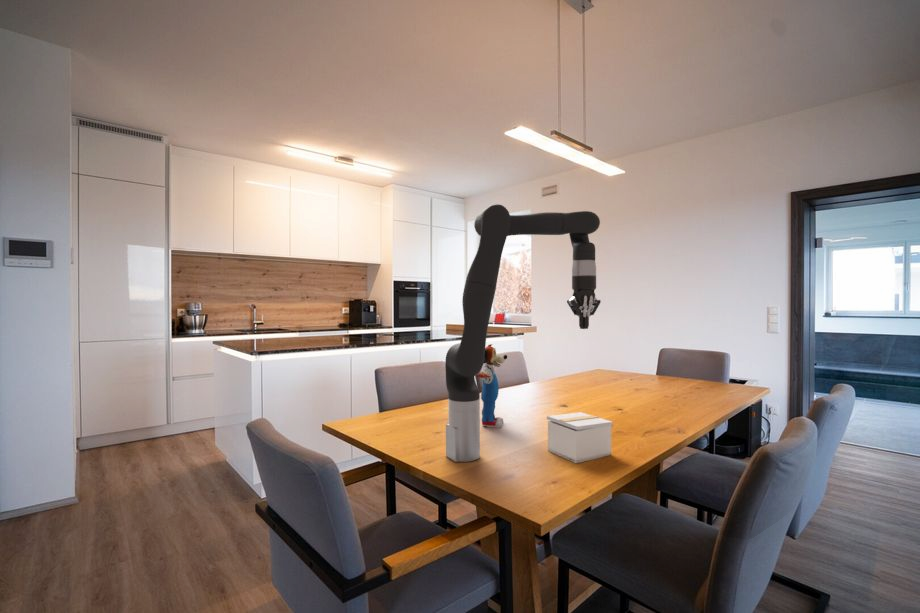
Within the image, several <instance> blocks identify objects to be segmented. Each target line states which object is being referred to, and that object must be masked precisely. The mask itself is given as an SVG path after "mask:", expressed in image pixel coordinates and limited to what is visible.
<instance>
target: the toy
mask: <svg viewBox="0 0 920 613" xmlns="http://www.w3.org/2000/svg"><path fill="white" fill-rule="evenodd" d="M507 359H508V355H507V354H504V355H501V354H500V355H497V351H496V347H493V344H488V345H487V346H485V356H484V363H483V366H482V369H481V370H480V372H479V373H478V374H477V375H476V378H477V377H478V378H482V390H481V392H480V394H481V395H480V400H481V402H482V403H483V404H482V409H481V416H482V417H481V425H482V427H484V426H487V427H486V428H495V427H500V428H502V427H503V425H504V424H503V423H504V418H502V417H500V416H498V417H496V415H495V409H496V401H497V399H498V396H499V392H500V391H499V390H500V388H499V382H498V381H499V380H498V377H497V375H496V372H495V369H494V368H495V367H497V368H499V367H501V364H504V363H505V360H507Z"/></svg>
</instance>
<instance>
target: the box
mask: <svg viewBox="0 0 920 613" xmlns="http://www.w3.org/2000/svg"><path fill="white" fill-rule="evenodd" d="M547 451H548V452H550V453H553V454H554V455H557V456H559V457H561V458H563V459H566V460H568V461H569V462H572V463H574V464H579V463H583V462H586V461H587V462H588V461H592V460H596V459H600V458H605V457H607V456H608V457H609V456H611V455H612V425H610V426H603V427H596V428H589V429H582V430H575V429H573V428H570V427H567V426H564V425H561V424H559V423H556V422H553V421H550V420H547Z"/></svg>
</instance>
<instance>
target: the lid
mask: <svg viewBox="0 0 920 613" xmlns="http://www.w3.org/2000/svg"><path fill="white" fill-rule="evenodd" d="M546 420H547V421H553V422H556V423H559V424H561V425H564V426H567V427H570V428H573V429H575V430H582V429H589V428H596V427H603V426H610V425H611V426H613V421H611V420H608V419H605V418H601V417H599V416H596V415H594V414H593V415H592V414H588V413H585V412H581V411H579V412H570V413H562V414H553V415H546Z"/></svg>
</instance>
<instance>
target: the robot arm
mask: <svg viewBox="0 0 920 613" xmlns="http://www.w3.org/2000/svg"><path fill="white" fill-rule="evenodd" d="M473 225H474V229H475V232H476V233H477V235H478V236H480V237H479V238H480V239H479V244H478V248H477V251H476V254H475V256H474V257H473V261H472V262H471V265H470V268H469V269H468V272H467V275H466V279H465V283H464V288H463V291H462V292H463V293H462V300H461V301H462V302H461V303H462V311H463V312H462V313H463V329H462V330H463V331H462V336H461V340H460V343H455V344H453V345H451V346H450V347H449V349H448V350H447V352H446V355H445V364H444V365H445V366H444V367H445V386H446V389H447V393H448V397H447V398H448V423H446V424H445V456H446V457H448V458H449V459H450V460H451V461H453V462H455V463H459V462H461V463H465V462H473V461H476V460H478V459H479V458H480V457H481V455H480V454H481V447H480V446H481V445H480V444H481V442H480V441H481V440H480V439H481V435H480V434H481V426H480V424H481V422H480V421H481V418H480V417H481V416H480V415H481V412H480V411H481V409H480V408H481V407H480V404H481V403H480V402H481V401H480V400H481V395H480V394H481V392H480V389H479V386H478V385H477V383H476V380H475V378H476V377H475V376H477V374H479V373H480V372H481V371H482V369H483V368H482V367H483V365H484V364H485V363H484V356H485V348H486V344H487V336H488V327H489V323H490V318H491V314H492V308H493V303H494V299H495V295H496V294H495V293H496V289H497V283H498V277H499V272H500V268H501V260H502V254H503V251H504V247H505V243H506V240H507V237H509V236H525V235H527V236H529V235H531V236H533V235H535V236H562V235H563V236H564V235H566V234H568V235H569V239H570V244H571V246H572V266H571V289H572V291H573V292H572V297H571V298H570V299H567V301H566V302H567V305H568V307H569V308H570V310H571V312H572V313H573V315H574V316H578V325H579V329H581V330H582V329H583V330H588V329H589V326H590V317H591V316H594V315H595V313H596V311H597V309H598V308H599V306H600V304H601V302H602V301H601V299H598V298H597V297H596V293H595V290H596V289H597V265H596V264H597V263H596V245H595V244H594V243H593V242H591V241H590V239H589V235H591V234H594V233H595V232H597V230H598V229H599V227H600V225H601V220H600V217H599V216H598V215H597V214H596V213H595V212H592V211H588V210H585V211H584V210H583V211H573V212H572V211H571V212H558V211H557V212H553V211H552V212H551V211H547V212H534V213H528V214H519V215H515V214H512V215H511V214H510V212H509V210H508V209H507V207H505V205H502V204H499V203H498V204H497V203H496V204H492V205H488V206H487V207H486V208H484V209H483V210H481V212H479V213H478V215H477V216H476V217H475V220H474V224H473Z"/></svg>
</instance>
